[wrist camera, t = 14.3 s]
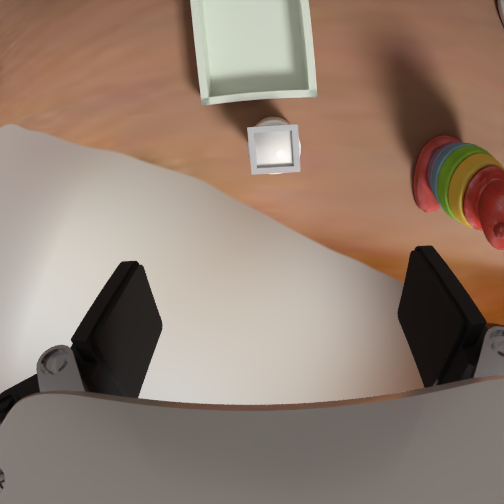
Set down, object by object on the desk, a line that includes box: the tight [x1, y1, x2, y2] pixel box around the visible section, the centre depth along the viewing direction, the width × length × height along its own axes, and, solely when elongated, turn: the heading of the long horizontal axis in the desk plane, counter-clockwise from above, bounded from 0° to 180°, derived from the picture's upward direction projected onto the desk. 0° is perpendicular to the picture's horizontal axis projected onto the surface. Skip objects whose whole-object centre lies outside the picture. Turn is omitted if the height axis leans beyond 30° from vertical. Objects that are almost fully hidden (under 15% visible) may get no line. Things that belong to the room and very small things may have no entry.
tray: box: [190, 0, 317, 106], centre depth 25 cm, size 12×22×4 cm, turn 5°
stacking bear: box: [413, 135, 504, 250], centre depth 27 cm, size 11×10×18 cm
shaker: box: [247, 117, 301, 175], centre depth 32 cm, size 5×5×7 cm
